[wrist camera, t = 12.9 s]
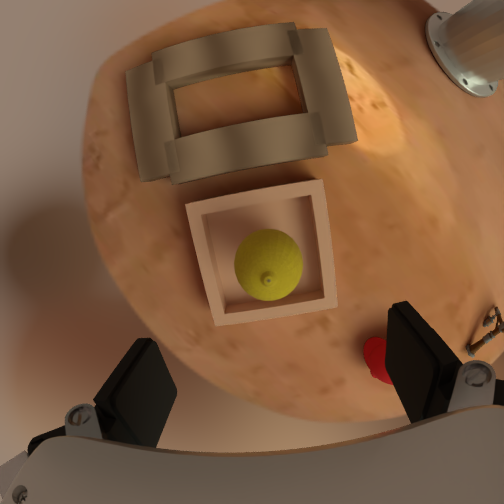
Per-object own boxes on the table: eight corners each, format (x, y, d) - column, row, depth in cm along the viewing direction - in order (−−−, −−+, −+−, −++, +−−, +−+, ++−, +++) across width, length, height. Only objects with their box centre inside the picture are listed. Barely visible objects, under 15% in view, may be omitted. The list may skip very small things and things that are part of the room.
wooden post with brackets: (503, 305, 27) (512, 327, 23) (467, 336, 32) (473, 359, 28) (498, 301, 27) (508, 324, 23) (462, 332, 32) (468, 356, 28)
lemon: (300, 224, 25) (314, 244, 18) (293, 280, 27) (303, 319, 19) (240, 219, 26) (229, 237, 18) (237, 276, 27) (226, 314, 19)
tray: (316, 178, 25) (322, 178, 22) (331, 294, 28) (337, 306, 25) (193, 201, 26) (185, 204, 23) (220, 312, 29) (215, 326, 26)
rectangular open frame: (319, 31, 21) (324, 20, 19) (351, 153, 24) (359, 151, 22) (134, 71, 23) (124, 63, 20) (153, 190, 26) (142, 192, 24)
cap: (438, 340, 26) (424, 343, 22) (423, 387, 25) (406, 397, 22) (385, 327, 32) (363, 327, 29) (373, 369, 32) (349, 374, 29)
